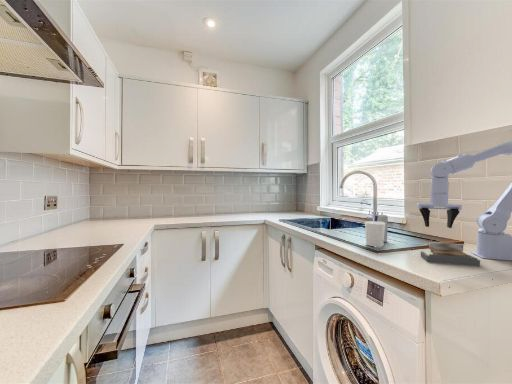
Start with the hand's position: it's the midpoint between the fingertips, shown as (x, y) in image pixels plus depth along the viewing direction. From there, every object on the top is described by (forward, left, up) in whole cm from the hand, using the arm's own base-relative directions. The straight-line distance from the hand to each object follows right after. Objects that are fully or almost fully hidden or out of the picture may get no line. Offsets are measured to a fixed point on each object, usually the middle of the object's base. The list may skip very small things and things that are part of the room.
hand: (438, 227), depth 98 cm
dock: (+2, +12, -9) cm, 15 cm away
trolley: (+2, +15, -8) cm, 17 cm away
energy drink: (+19, -10, -10) cm, 24 cm away
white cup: (+23, 0, -10) cm, 25 cm away
